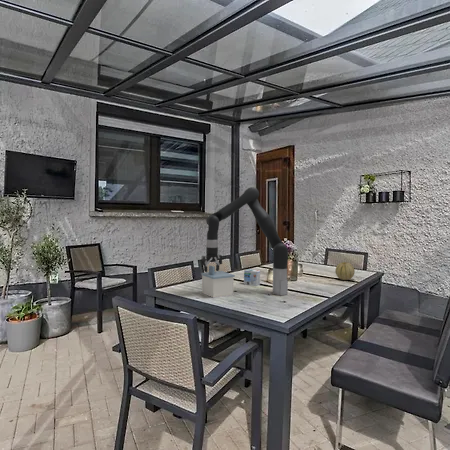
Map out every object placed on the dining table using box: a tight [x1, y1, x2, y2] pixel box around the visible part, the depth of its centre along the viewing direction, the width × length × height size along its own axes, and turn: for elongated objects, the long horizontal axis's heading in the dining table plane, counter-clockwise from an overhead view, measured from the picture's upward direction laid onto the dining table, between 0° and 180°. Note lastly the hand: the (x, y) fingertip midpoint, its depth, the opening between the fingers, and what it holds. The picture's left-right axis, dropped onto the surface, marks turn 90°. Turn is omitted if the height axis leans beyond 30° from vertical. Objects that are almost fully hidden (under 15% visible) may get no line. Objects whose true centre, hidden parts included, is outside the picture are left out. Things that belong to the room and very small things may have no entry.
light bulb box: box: [243, 268, 261, 287], centre depth 251 cm, size 11×7×11 cm, turn 62°
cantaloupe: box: [335, 261, 356, 281], centre depth 273 cm, size 15×15×15 cm
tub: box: [201, 275, 234, 299], centre depth 221 cm, size 15×15×12 cm
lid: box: [200, 265, 235, 279], centre depth 221 cm, size 16×16×7 cm
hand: (211, 271), depth 218 cm, fingers open, 8 cm apart
